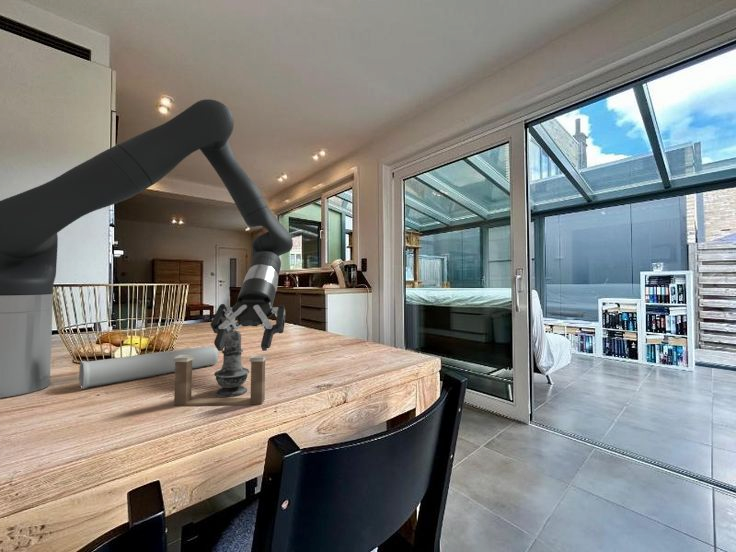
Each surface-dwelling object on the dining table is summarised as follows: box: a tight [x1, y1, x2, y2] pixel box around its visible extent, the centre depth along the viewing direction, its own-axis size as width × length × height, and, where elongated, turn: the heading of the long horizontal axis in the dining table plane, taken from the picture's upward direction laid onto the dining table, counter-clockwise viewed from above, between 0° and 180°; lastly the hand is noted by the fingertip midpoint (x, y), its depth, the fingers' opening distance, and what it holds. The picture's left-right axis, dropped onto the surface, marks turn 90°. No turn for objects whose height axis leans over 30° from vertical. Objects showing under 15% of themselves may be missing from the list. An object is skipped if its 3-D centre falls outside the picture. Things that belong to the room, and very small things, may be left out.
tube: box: [78, 345, 220, 390], centre depth 68 cm, size 5×5×25 cm
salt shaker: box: [213, 326, 250, 398], centre depth 57 cm, size 6×6×12 cm
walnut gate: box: [173, 354, 268, 406], centre depth 52 cm, size 14×2×8 cm, turn 93°
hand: (241, 348), depth 61 cm, fingers open, 8 cm apart
